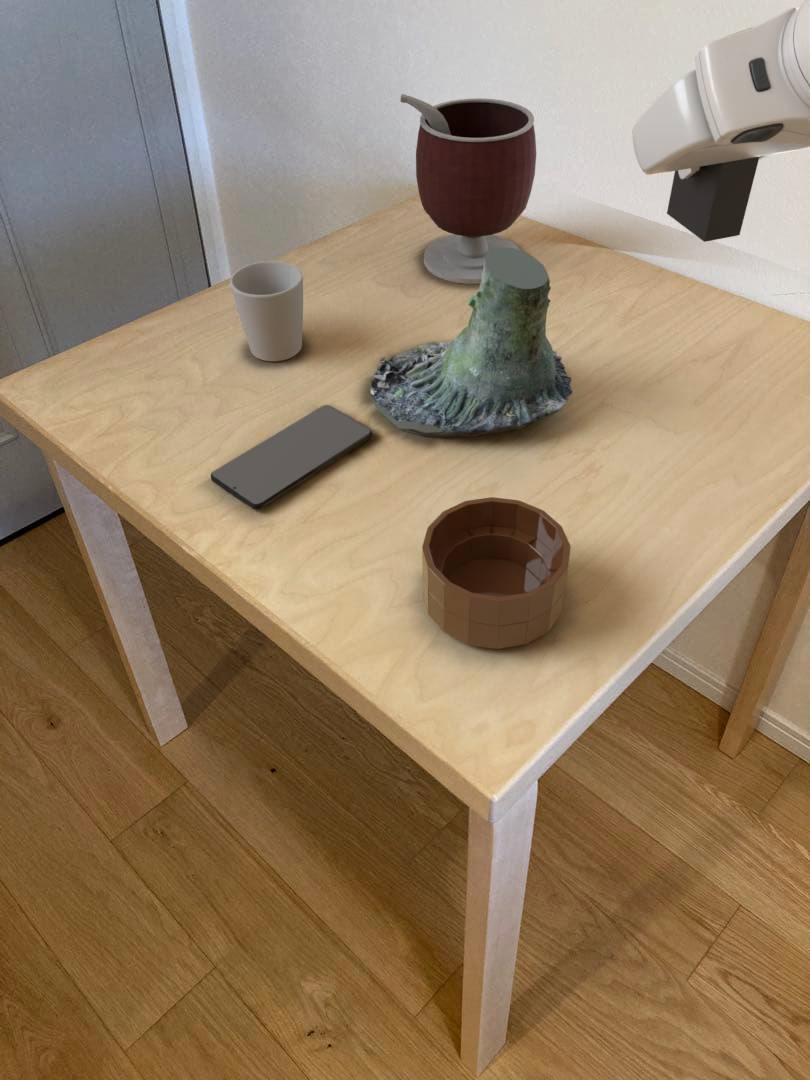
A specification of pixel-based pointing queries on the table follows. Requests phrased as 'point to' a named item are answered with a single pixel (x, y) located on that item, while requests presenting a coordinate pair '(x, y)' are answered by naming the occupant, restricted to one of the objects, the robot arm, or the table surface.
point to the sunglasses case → (713, 199)
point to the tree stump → (481, 361)
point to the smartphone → (290, 456)
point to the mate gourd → (472, 178)
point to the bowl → (495, 572)
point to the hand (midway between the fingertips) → (710, 165)
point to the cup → (270, 308)
